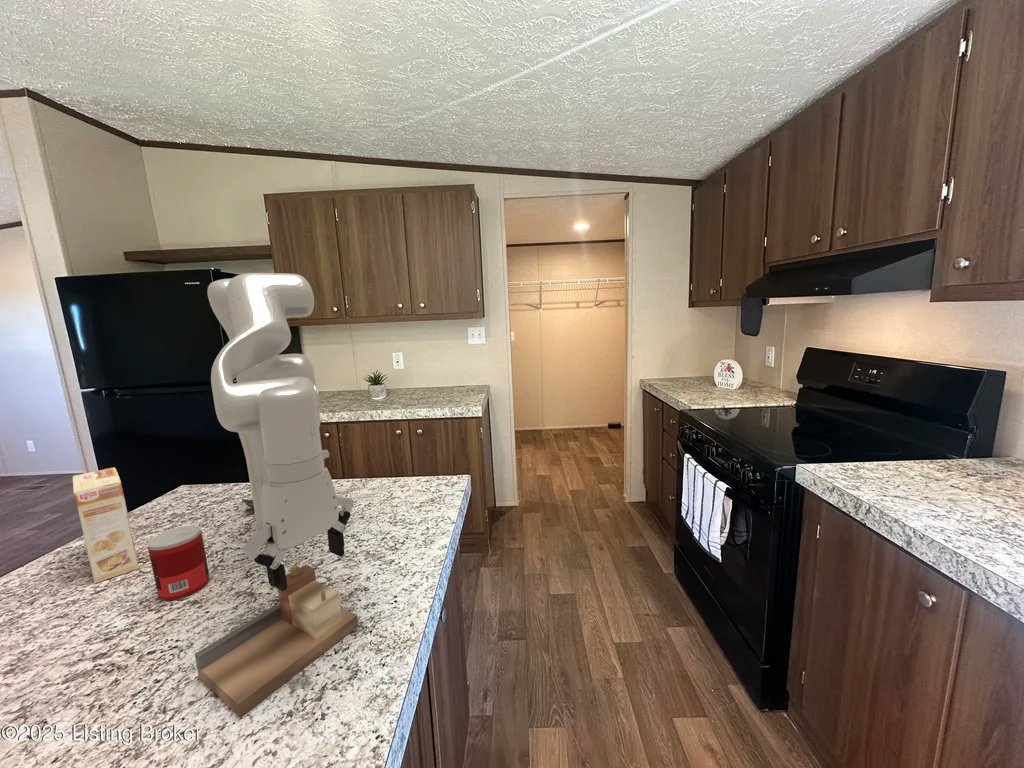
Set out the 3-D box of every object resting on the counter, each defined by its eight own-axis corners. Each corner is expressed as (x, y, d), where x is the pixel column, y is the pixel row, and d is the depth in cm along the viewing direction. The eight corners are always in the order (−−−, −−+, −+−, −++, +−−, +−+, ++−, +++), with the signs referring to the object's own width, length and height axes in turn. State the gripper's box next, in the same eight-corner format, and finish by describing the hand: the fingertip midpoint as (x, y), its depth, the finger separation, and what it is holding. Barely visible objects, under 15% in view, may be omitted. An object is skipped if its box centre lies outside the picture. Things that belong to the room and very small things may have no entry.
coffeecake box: (140, 568, 88) (121, 481, 85) (93, 585, 83) (71, 493, 80) (132, 544, 98) (115, 465, 95) (90, 558, 93) (70, 475, 90)
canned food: (219, 578, 83) (210, 527, 81) (176, 605, 75) (165, 549, 74) (193, 572, 85) (183, 522, 84) (148, 597, 78) (137, 543, 76)
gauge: (282, 619, 68) (275, 574, 66) (310, 601, 72) (304, 558, 70) (314, 640, 63) (308, 592, 61) (343, 619, 67) (337, 574, 66)
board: (199, 677, 59) (194, 653, 59) (315, 602, 74) (312, 582, 74) (240, 717, 53) (235, 690, 52) (358, 626, 68) (355, 604, 67)
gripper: (332, 446, 71) (342, 536, 75) (220, 483, 57) (239, 594, 60) (360, 453, 67) (370, 548, 71) (247, 495, 53) (266, 612, 56)
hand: (310, 569), depth 65 cm, fingers open, 9 cm apart
